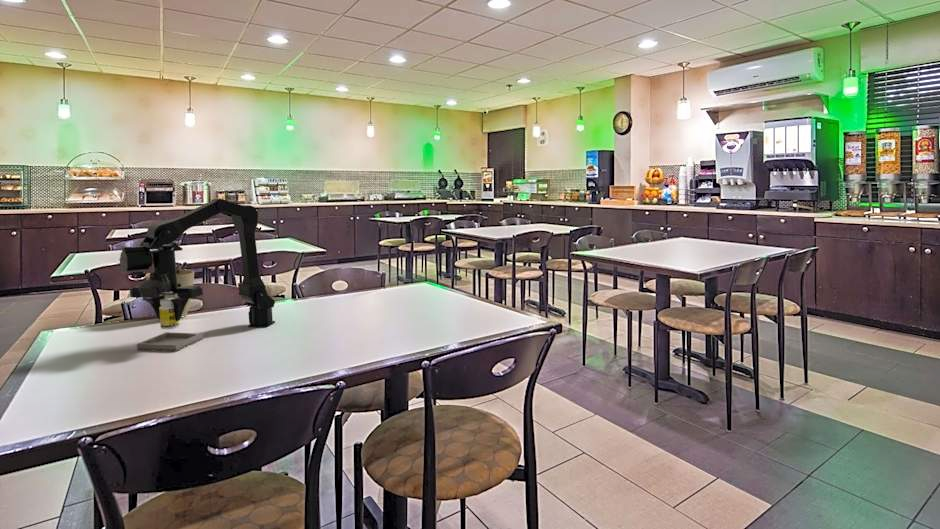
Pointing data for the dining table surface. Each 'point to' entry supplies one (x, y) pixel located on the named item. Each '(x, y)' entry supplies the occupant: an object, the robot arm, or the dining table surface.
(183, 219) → the robot arm
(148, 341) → the tray
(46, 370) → the dining table surface
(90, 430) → the dining table surface
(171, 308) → the supplement bottle
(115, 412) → the dining table surface
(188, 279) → the plant pot
